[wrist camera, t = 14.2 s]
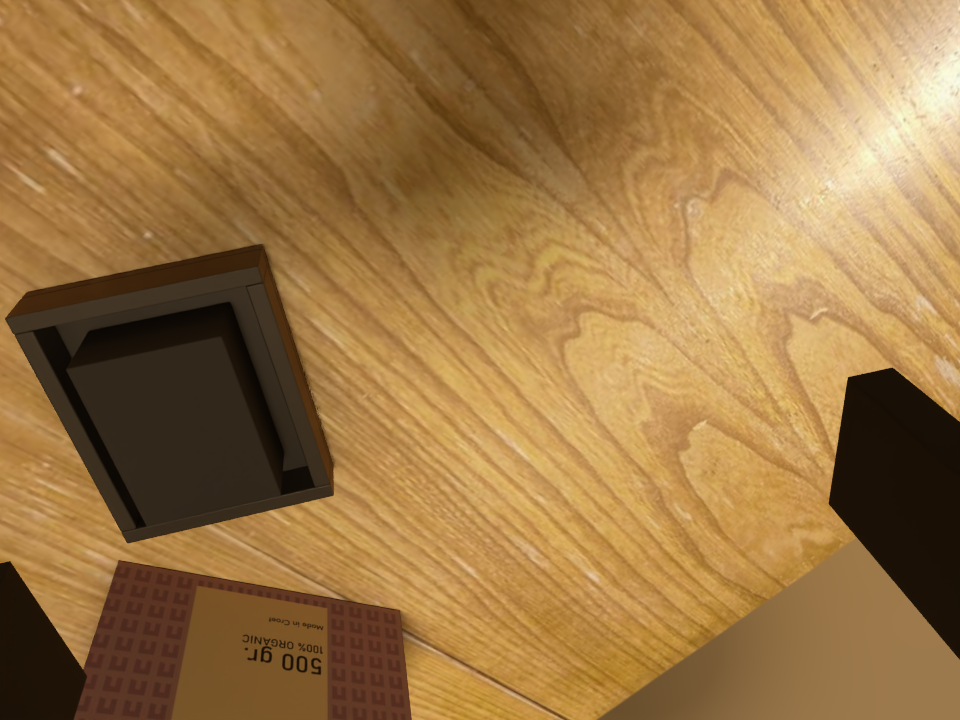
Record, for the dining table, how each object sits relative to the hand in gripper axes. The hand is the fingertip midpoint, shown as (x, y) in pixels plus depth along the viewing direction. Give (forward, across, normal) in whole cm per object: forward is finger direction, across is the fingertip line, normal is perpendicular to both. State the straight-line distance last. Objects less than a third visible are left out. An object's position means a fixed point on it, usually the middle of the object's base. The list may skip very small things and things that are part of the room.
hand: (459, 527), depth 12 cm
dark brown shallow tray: (+24, -11, -10) cm, 29 cm away
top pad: (+24, -11, -10) cm, 28 cm away
